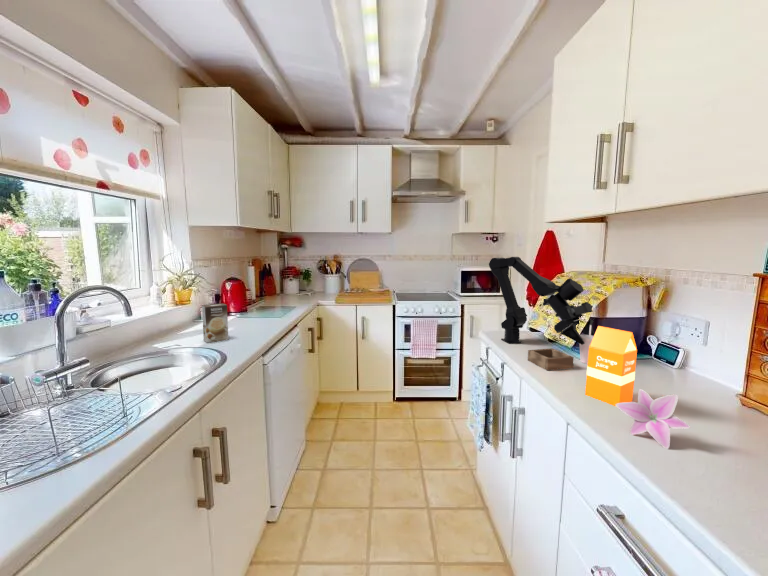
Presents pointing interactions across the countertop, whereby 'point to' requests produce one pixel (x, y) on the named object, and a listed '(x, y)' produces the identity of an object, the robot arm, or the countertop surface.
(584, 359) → the smoothie
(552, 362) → the brown wooden tray
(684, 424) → the lily
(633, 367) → the orange juice
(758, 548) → the countertop surface
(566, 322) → the robot arm
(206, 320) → the coffee box
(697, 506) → the countertop surface
